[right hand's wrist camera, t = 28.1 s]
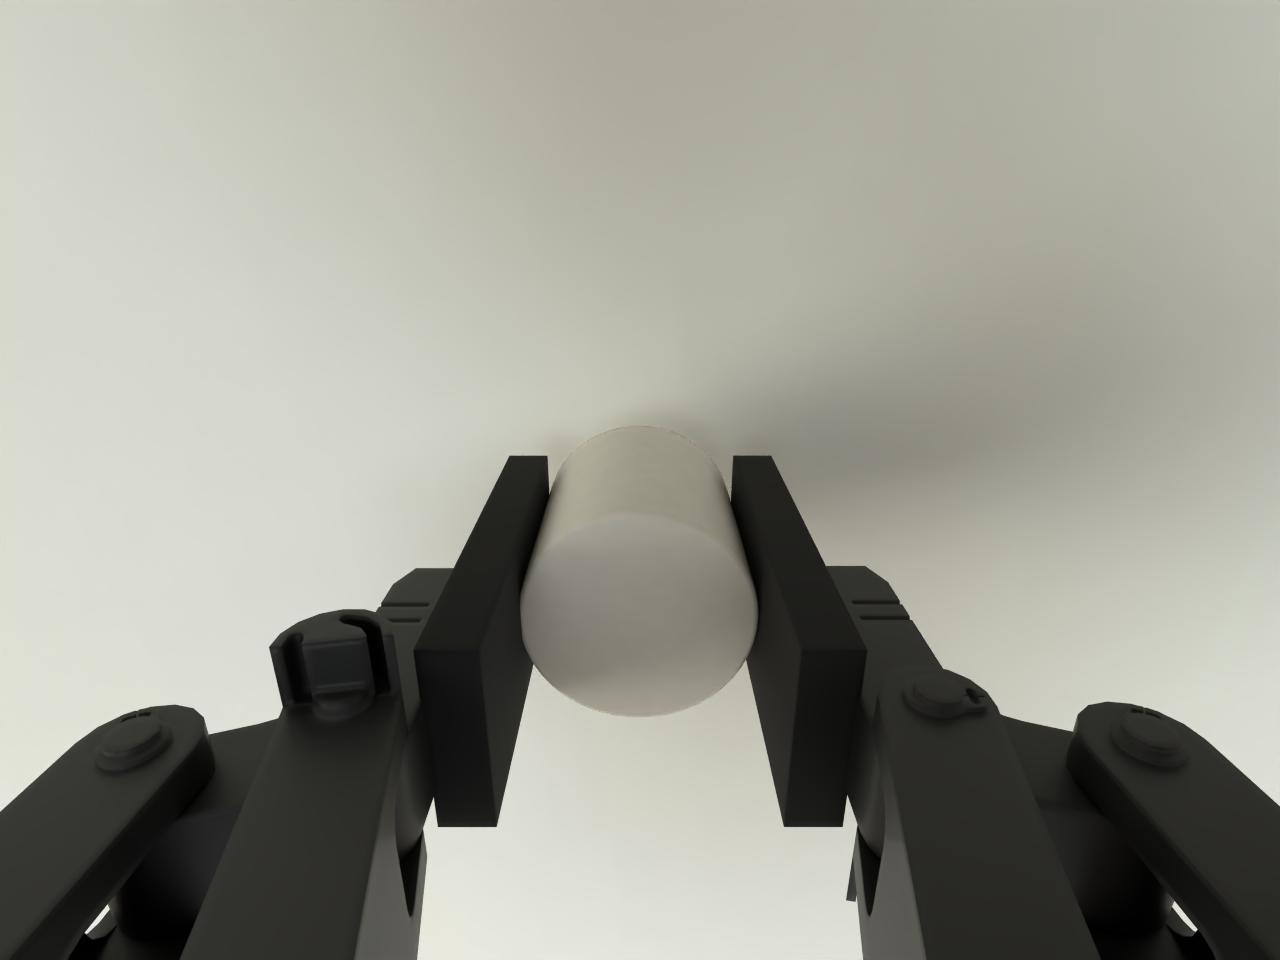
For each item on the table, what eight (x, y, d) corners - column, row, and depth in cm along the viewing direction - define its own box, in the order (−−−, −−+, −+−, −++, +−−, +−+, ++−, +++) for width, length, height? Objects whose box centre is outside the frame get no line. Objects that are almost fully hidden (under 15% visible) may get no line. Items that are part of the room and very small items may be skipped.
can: (762, 475, 15) (807, 578, 11) (674, 614, 16) (684, 751, 12) (599, 392, 14) (582, 470, 10) (520, 543, 15) (479, 664, 11)
